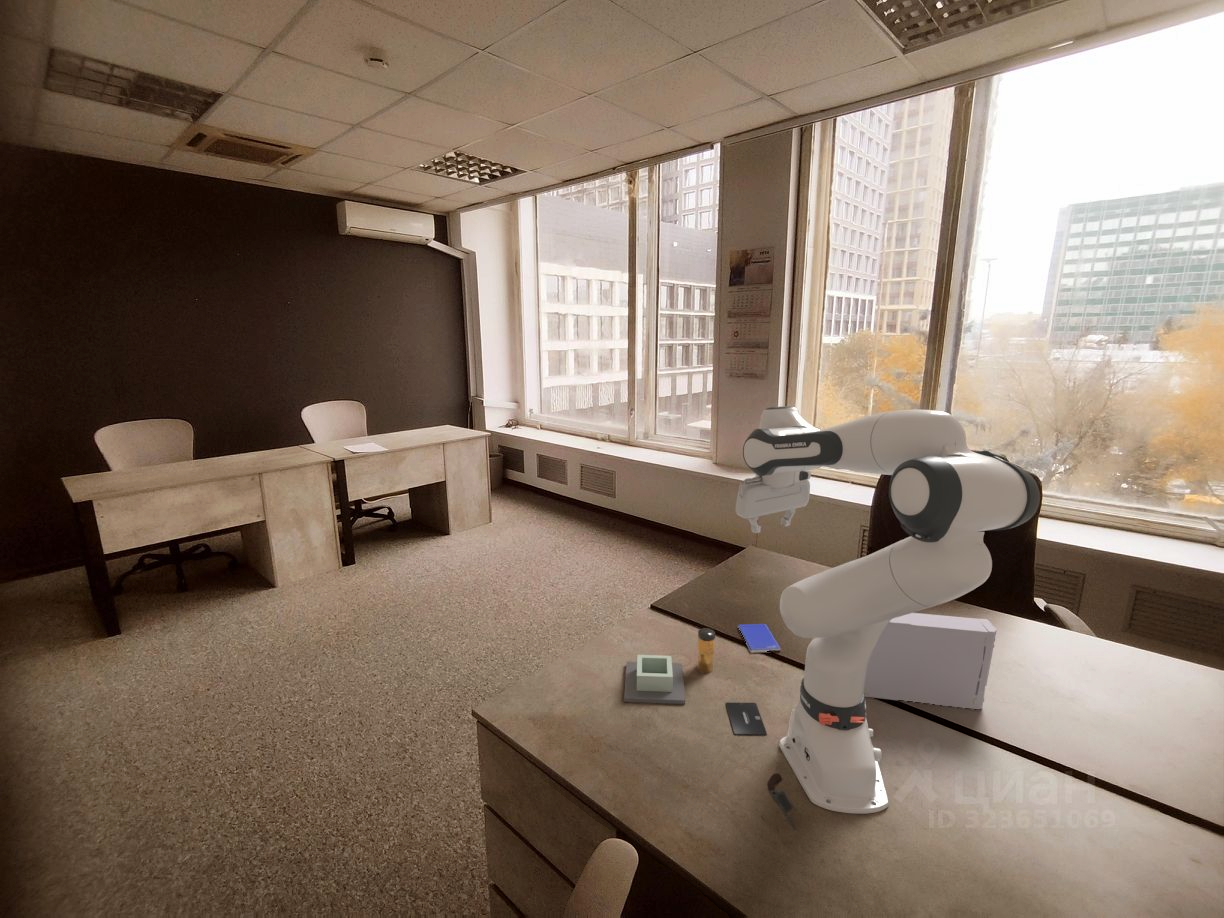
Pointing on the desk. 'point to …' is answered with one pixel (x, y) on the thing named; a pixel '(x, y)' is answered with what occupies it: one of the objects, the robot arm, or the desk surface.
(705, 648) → the bottle
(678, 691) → the docking plate
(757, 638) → the hard drive
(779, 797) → the dark curved piece
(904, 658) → the game console
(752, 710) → the solid state drive
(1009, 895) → the desk surface
